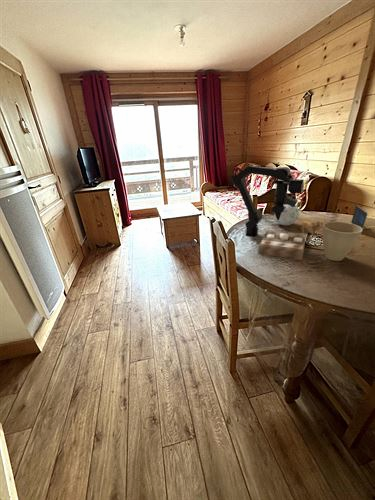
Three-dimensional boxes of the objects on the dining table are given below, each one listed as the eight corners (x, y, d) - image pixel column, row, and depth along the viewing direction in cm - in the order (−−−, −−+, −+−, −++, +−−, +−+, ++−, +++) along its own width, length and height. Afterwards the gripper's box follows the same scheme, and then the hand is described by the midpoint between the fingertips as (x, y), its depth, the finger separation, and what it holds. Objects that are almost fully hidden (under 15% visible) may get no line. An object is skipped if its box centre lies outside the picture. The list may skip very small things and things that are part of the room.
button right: (292, 245, 116) (293, 240, 114) (293, 242, 119) (294, 236, 118) (301, 247, 114) (302, 241, 112) (301, 243, 117) (302, 237, 116)
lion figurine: (323, 234, 129) (326, 220, 125) (318, 237, 126) (321, 222, 122) (299, 228, 140) (301, 215, 136) (294, 231, 137) (297, 217, 133)
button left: (265, 242, 122) (265, 236, 121) (266, 239, 126) (267, 233, 124) (273, 243, 120) (274, 237, 119) (274, 240, 124) (275, 234, 122)
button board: (258, 253, 115) (258, 244, 112) (266, 237, 131) (267, 230, 129) (302, 260, 105) (303, 251, 103) (304, 242, 122) (306, 234, 120)
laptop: (329, 223, 144) (333, 204, 139) (351, 224, 141) (356, 204, 135) (336, 233, 129) (341, 212, 124) (361, 234, 125) (368, 213, 120)
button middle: (278, 241, 118) (279, 235, 117) (279, 238, 122) (280, 232, 120) (287, 242, 116) (288, 236, 115) (288, 239, 120) (289, 233, 118)
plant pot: (338, 268, 96) (347, 235, 89) (309, 255, 109) (315, 225, 102) (360, 259, 101) (370, 228, 94) (330, 248, 113) (337, 219, 106)
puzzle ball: (271, 226, 146) (273, 205, 139) (275, 220, 157) (278, 199, 151) (295, 229, 139) (299, 207, 132) (298, 222, 150) (302, 201, 143)
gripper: (296, 196, 106) (291, 226, 113) (299, 189, 120) (295, 215, 127) (272, 195, 111) (269, 224, 118) (277, 188, 125) (275, 214, 132)
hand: (278, 219), depth 124 cm, fingers closed
